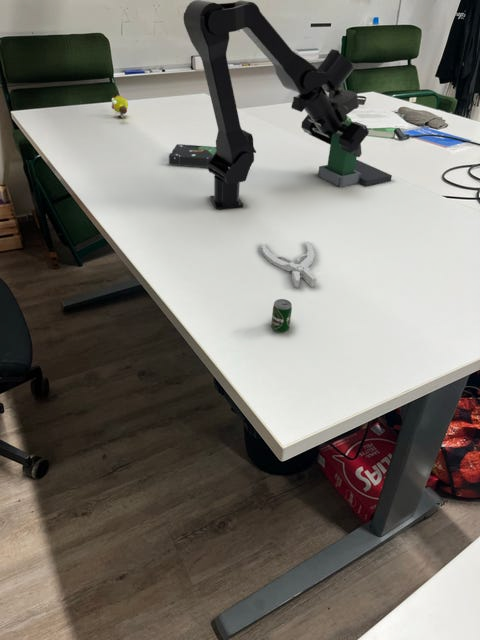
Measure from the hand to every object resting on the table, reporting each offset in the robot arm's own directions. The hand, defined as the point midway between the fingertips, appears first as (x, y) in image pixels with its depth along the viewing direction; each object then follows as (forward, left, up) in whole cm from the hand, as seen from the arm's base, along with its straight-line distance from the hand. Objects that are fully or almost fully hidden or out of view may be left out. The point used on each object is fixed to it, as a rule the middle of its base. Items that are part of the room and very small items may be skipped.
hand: (347, 150), depth 121 cm
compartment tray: (+1, -3, -7) cm, 8 cm away
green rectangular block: (0, +1, -7) cm, 7 cm away
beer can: (-56, +38, -7) cm, 68 cm away
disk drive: (+20, +34, -7) cm, 40 cm away
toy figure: (+68, +51, -7) cm, 85 cm away
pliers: (-39, +29, -7) cm, 50 cm away
